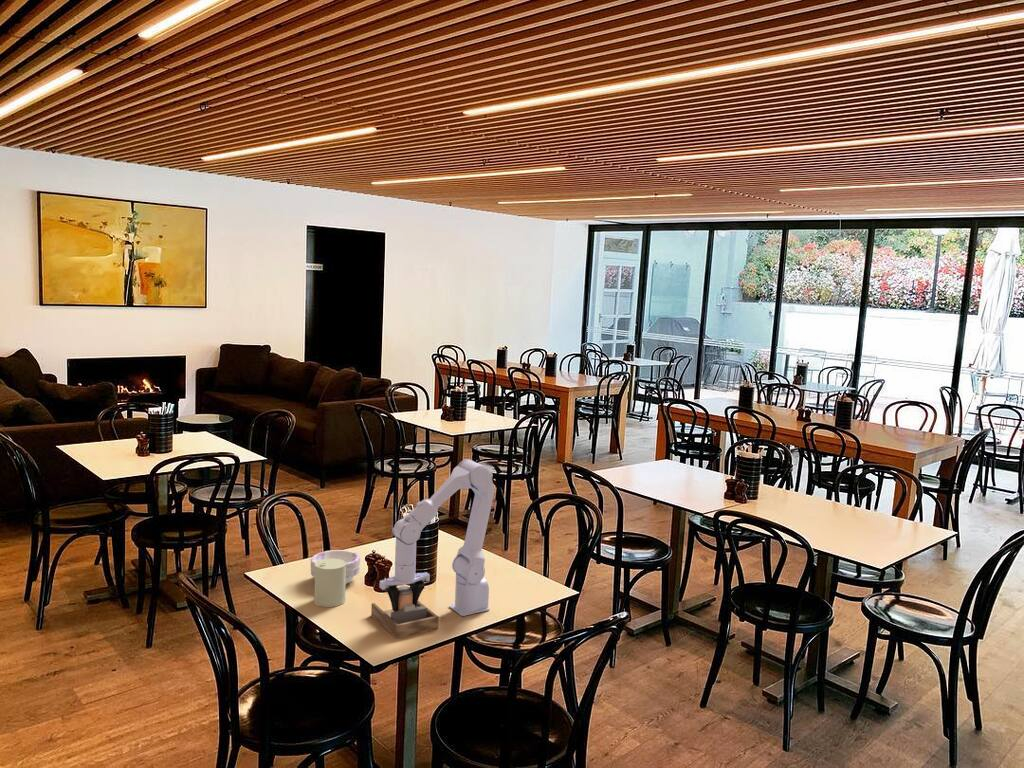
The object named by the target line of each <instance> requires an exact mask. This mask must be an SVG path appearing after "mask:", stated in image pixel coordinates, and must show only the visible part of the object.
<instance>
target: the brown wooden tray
mask: <svg viewBox="0 0 1024 768" xmlns="http://www.w3.org/2000/svg"><path fill="white" fill-rule="evenodd" d="M419 606H425V604H423V603H422V602H421V601H420V600H418V602H417V605H416V607H419ZM370 608H371V610H370V611H371V614H370V615H371V616H372V618H374V620H376V621H377V622H378V623H379V622H380V623H381V624H382V625H381V624H380V623H379V624H380V625H381V626H383V628H385V629H386V630H387V631H388V633H390V634H391V635H392V636H393V635H394V636H395V639H400V638H403V637H405V638H406V637H407V636H412V635H413V634H414V635H417V634H422V633H427V632H430V631H434V630H439V617H440V616H438V615H437V614H436V613H435V612H433V611H432V610H431V609H429V607H427V618H425V619H420V620H415V621H411V622H406V623H402V624H397V623H396V622H395V621H394V620H393V619H392V618H391V612H394V611H393V610H392V609H388V610H383V609H382V608H380V607H379V606H378V605H377V604H376V602H372V603H371V607H370ZM394 636H393V637H394Z"/></svg>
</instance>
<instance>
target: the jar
mask: <svg viewBox="0 0 1024 768" xmlns="http://www.w3.org/2000/svg"><path fill="white" fill-rule="evenodd" d="M397 588H398V590H399V591H400V594H399V599H398V611H400V610H403V608H404V606H407V605H412V604H413V591H412V588H410V586H397Z"/></svg>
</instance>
